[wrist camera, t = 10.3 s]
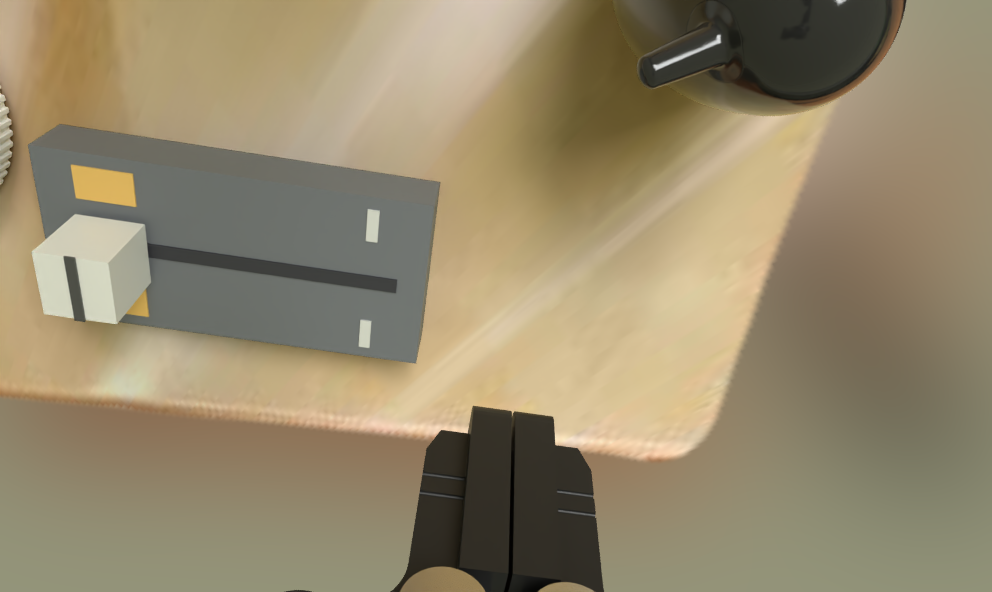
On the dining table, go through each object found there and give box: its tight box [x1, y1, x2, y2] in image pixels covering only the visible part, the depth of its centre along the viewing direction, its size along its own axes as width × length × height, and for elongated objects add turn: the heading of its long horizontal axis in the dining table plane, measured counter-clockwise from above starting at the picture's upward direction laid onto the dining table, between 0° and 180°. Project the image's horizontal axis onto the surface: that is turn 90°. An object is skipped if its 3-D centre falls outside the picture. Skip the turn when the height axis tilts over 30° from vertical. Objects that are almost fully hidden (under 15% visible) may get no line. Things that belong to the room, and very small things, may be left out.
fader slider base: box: [28, 124, 440, 363], centre depth 41 cm, size 10×20×3 cm, turn 81°
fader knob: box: [32, 214, 151, 324], centre depth 38 cm, size 4×4×4 cm
